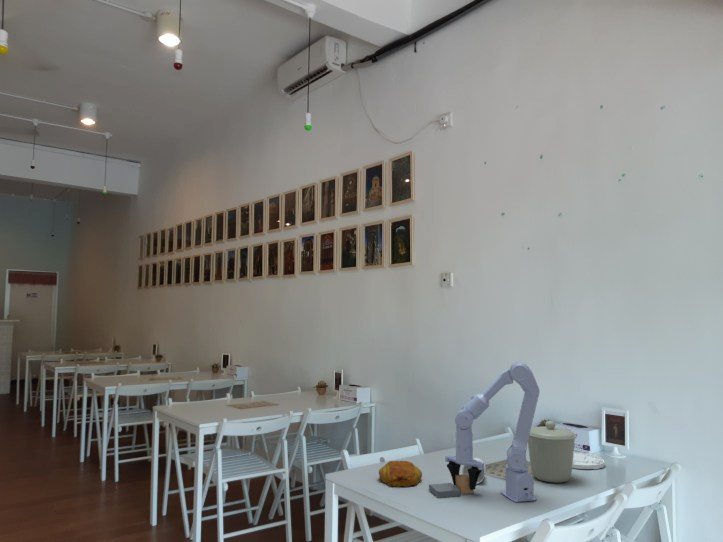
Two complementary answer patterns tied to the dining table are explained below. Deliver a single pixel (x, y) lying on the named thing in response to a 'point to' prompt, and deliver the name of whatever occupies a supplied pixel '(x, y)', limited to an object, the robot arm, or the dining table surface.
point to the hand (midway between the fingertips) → (464, 487)
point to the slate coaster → (444, 490)
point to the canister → (551, 452)
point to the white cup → (482, 474)
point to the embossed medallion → (587, 461)
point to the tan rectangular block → (463, 483)
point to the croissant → (400, 473)
